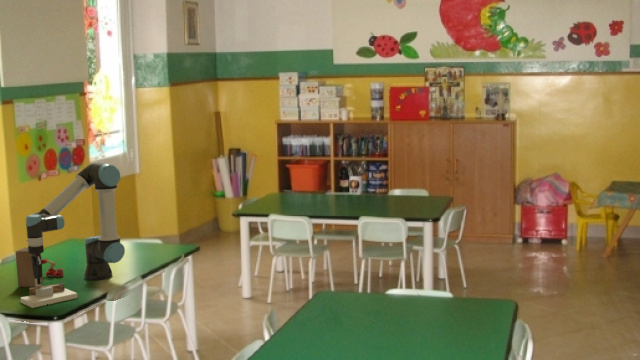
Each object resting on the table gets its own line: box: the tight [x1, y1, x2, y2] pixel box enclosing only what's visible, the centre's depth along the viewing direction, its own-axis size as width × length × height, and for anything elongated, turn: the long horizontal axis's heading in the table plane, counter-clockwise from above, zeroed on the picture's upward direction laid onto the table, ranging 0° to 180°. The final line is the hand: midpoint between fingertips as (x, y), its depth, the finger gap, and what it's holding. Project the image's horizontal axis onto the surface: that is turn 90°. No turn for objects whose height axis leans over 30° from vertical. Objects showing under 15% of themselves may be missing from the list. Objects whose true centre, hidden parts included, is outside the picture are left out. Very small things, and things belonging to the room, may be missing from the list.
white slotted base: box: [20, 287, 79, 309], centre depth 436 cm, size 24×14×6 cm, turn 131°
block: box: [15, 246, 44, 288], centre depth 467 cm, size 10×10×20 cm
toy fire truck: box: [41, 258, 65, 278], centre depth 486 cm, size 3×14×10 cm, turn 71°
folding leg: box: [28, 282, 65, 296], centre depth 442 cm, size 17×3×3 cm, turn 117°
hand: (38, 289), depth 442 cm, fingers closed
